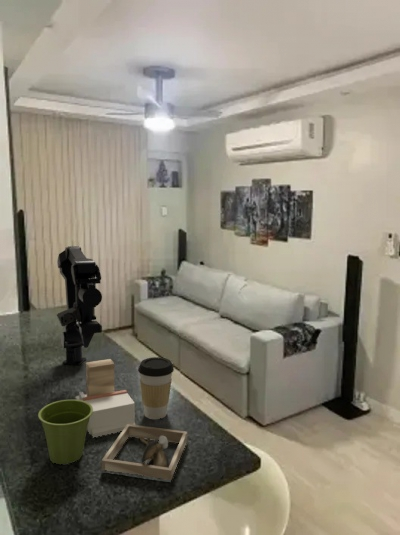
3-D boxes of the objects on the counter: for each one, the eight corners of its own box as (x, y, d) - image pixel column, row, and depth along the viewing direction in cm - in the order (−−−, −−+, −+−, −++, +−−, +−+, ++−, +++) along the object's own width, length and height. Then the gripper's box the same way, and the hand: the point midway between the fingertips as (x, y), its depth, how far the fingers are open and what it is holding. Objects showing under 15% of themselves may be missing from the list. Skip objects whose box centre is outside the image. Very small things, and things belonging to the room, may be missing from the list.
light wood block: (86, 401, 121) (85, 361, 119) (110, 397, 124) (109, 358, 122) (89, 408, 117) (89, 367, 115) (114, 403, 120) (114, 363, 118)
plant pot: (64, 479, 89) (62, 430, 88) (28, 460, 95) (26, 414, 94) (104, 452, 99) (103, 408, 97) (69, 437, 105) (68, 394, 104)
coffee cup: (178, 409, 121) (179, 359, 119) (164, 425, 112) (165, 372, 110) (147, 403, 124) (147, 354, 122) (131, 418, 115) (131, 366, 113)
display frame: (127, 435, 107) (127, 424, 106) (187, 443, 104) (187, 431, 104) (101, 472, 92) (101, 460, 91) (170, 483, 89) (171, 470, 88)
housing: (73, 400, 125) (73, 380, 124) (113, 393, 130) (113, 373, 129) (91, 438, 105) (90, 414, 104) (137, 428, 110) (137, 405, 109)
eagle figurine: (130, 452, 98) (133, 469, 89) (146, 424, 99) (151, 438, 90) (157, 467, 99) (163, 485, 90) (173, 439, 100) (180, 454, 92)
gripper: (53, 295, 137) (55, 341, 140) (63, 309, 121) (64, 360, 123) (88, 293, 142) (88, 337, 145) (102, 305, 126) (102, 355, 128)
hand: (85, 347), depth 135 cm, fingers closed
